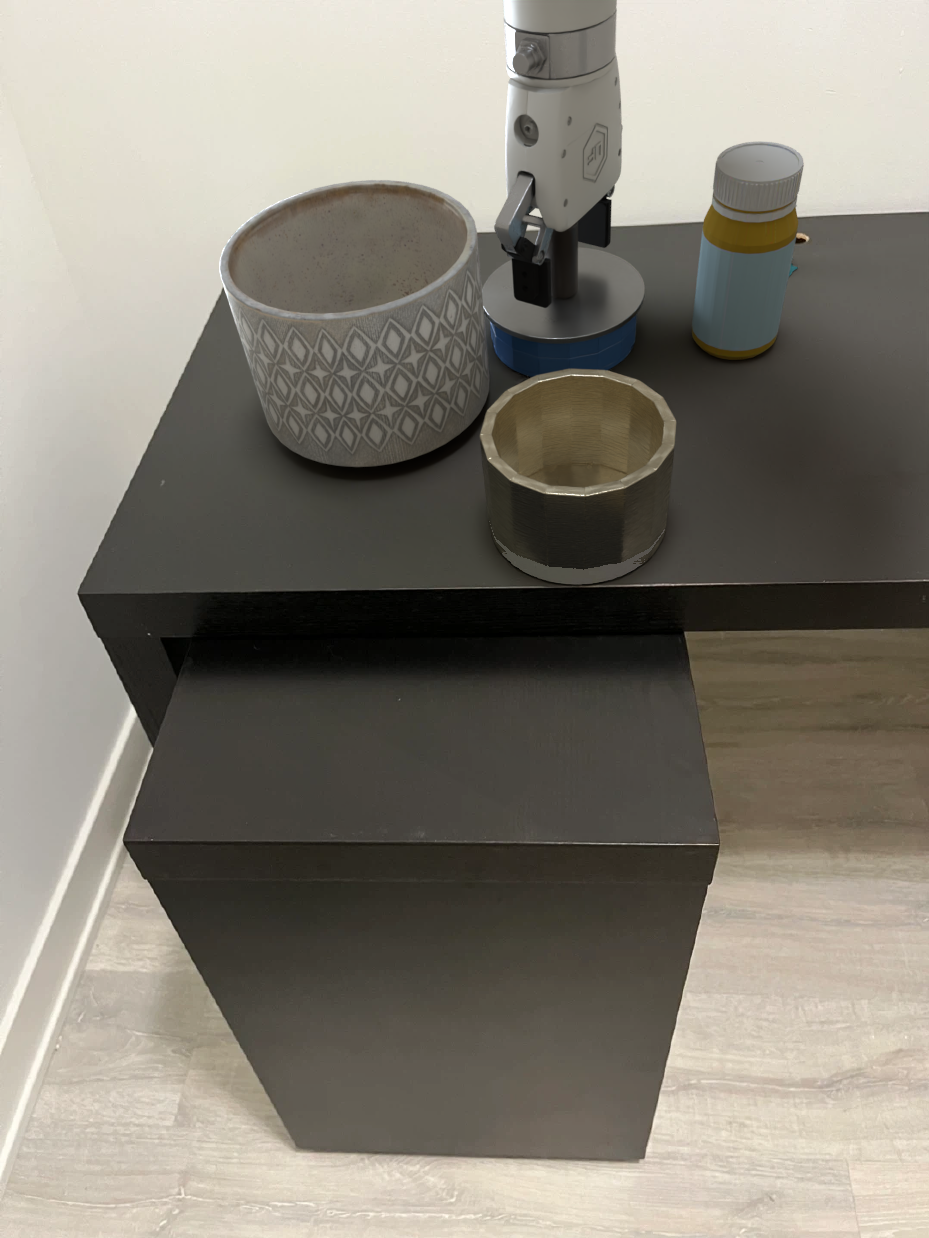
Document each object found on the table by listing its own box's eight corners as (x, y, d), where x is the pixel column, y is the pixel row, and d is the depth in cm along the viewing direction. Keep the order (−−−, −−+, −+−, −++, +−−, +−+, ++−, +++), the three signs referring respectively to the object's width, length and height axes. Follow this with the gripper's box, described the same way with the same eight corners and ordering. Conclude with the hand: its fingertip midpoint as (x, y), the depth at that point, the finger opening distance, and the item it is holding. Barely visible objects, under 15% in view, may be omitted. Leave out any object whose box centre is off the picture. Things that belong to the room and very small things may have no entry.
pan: (660, 317, 83) (663, 276, 80) (592, 397, 77) (592, 355, 74) (538, 284, 88) (537, 243, 85) (465, 356, 82) (461, 316, 79)
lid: (672, 280, 80) (679, 199, 75) (594, 368, 74) (596, 286, 68) (534, 245, 86) (531, 167, 80) (451, 324, 79) (441, 245, 74)
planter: (317, 330, 87) (279, 174, 75) (514, 348, 82) (505, 185, 71) (233, 466, 76) (173, 307, 64) (455, 495, 71) (433, 330, 60)
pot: (695, 495, 69) (708, 400, 62) (613, 611, 63) (618, 521, 56) (546, 442, 74) (543, 350, 67) (456, 545, 68) (443, 455, 61)
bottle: (682, 356, 79) (700, 179, 68) (701, 309, 83) (722, 135, 71) (766, 369, 77) (800, 189, 65) (783, 321, 81) (817, 143, 69)
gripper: (542, 103, 59) (549, 340, 72) (667, 3, 67) (652, 231, 80) (443, 85, 62) (467, 315, 75) (574, -9, 70) (575, 213, 83)
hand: (563, 271), depth 78 cm, fingers open, 9 cm apart
